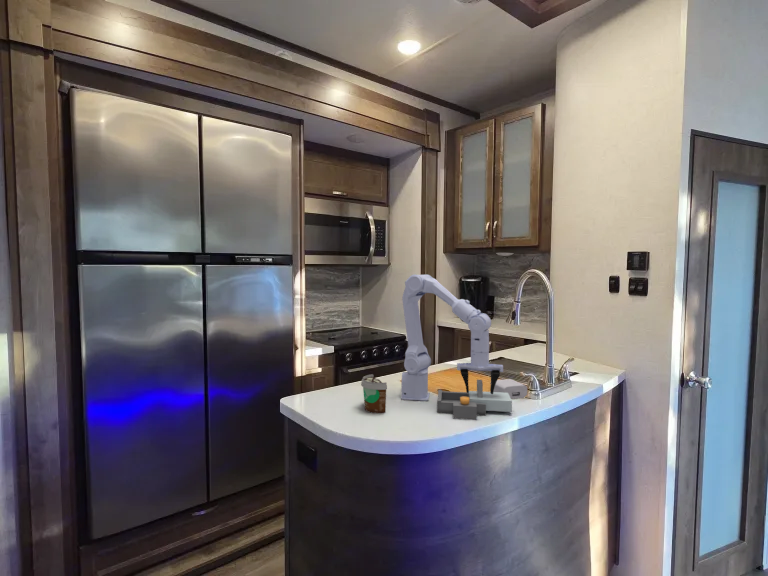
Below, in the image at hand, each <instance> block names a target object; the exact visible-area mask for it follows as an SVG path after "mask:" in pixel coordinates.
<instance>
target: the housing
mask: <svg viewBox="0 0 768 576" xmlns="http://www.w3.org/2000/svg"><path fill="white" fill-rule="evenodd" d="M437 391H438V392H437V400H436V401H437V404H436V406H437V407H436V408H437V410H436V411H437V412H436V413H437V414H447V415H449V414H450V415H452V416H453V417H452V419H457V420H475V421H477V420H478V416H483V417H484V416H485V417H486V416H487V411H486V403H475V402H469V404H461V403H460V397H462V396H466V397H469V393H467V392H466V391H449V390H448V391H445V390H444V391H443V390H442V389H438V390H437Z"/></svg>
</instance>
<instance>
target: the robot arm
mask: <svg viewBox="0 0 768 576" xmlns="http://www.w3.org/2000/svg"><path fill="white" fill-rule="evenodd" d="M404 284H405V286H404V290H403V293H402V299H401V300H402V308H403V315H404V323H405V329H406V338H407V344H408V345H407V348H406V350H405V353H404V356H405V358H404V363H403V366H404V369H405V371H403V372H402V373H401V383H400V384H401V389H400V393H401V398H400V399H401V400H403V401H404V400H406V401H407V400H408V401H409V400H410V401H422V402H423V401H426V402H427V401H429V399H430V392H429V387H428V386H429V374H428V373H429V368H430V366H431V363H432V359H431V356H430V355H429V352H428V348H427V347H426V345H425V344H424V339H423V331H422V323H421V316H420V309H419V300H421V299H422V297H423V296H424V295H425V294H433V295H435V296H436V297H438V299H440V300H441V301H443V302H445V303H446V305H449V307H451V311H452V313H453V314H454V315H456V317H458V318H459V319H460V320H462V321H463V322H464V323H465V325H467V326H468V329H469V331H470V362H463V363H461V362H457V363H456V370H457V371H459V372H460V375H461V377H462V380H463V382H464V384H465V389H466V391H465V392H467V393H469V391H470V389H469V387H470V386H469V371H477V372H478V371H479V372H480V371H481V372H483V371H484V372H490V383H491V384H490V387H489V388H490V389H489V392H490V393H491V394H493V391H494V387H495V384H496V382H497V380H499V378H500V376H501V373H503V372H504V365H503V364H496V363H490V360H489V359H490V336H489V335H490V330H489V329H490V328H491V326H492V319H491V318H490V316H489V315H488V314H487V313H483V312H482V311H481V310H480V309H477V308H476V307H474V306H473V305H471V304H470V303H471V301H470V300H468V299H464V298H461V299H458V297H456V296H455V295H453V294H452V292H450V290H448V289H447V287H445V286H444V285H443V284H442V283H440V282H439V281H438V280H437V279H436V278H434V277H432V276H431V275H430V274H424V273H423V274H416V273H415V274H411V275H410V276H409V277H408V278H407V279H406V280H405V281H404Z"/></svg>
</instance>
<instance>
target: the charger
mask: <svg viewBox="0 0 768 576" xmlns="http://www.w3.org/2000/svg"><path fill="white" fill-rule="evenodd" d="M489 384H490V385H491V382H489ZM493 392H503V393H508V394H509V396H510V398H511V400H515V399H516V400H517V399H525V398H524V397H525V396H526V395H527V396H528V386H527V385H525V384H523V383H521V382H519V381H516V380H514V379H512V378H511V379H510V378H508V379H507V378H506V379H498V380H497V382H496V384H495V387H494V391H493Z"/></svg>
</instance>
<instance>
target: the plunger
mask: <svg viewBox="0 0 768 576" xmlns="http://www.w3.org/2000/svg"><path fill="white" fill-rule="evenodd" d="M460 403H461V404H469V397H466V396H462V397H460Z"/></svg>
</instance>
